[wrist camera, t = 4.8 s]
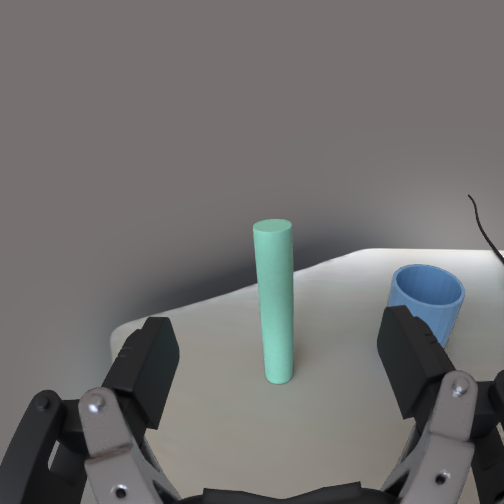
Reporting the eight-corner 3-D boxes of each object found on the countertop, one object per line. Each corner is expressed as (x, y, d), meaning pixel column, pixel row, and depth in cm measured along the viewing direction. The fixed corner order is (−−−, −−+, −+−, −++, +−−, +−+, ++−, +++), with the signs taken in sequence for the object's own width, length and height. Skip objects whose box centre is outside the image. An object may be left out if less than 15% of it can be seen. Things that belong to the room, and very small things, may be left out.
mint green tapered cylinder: (281, 360, 28) (275, 216, 22) (298, 375, 26) (300, 224, 19) (260, 372, 27) (245, 225, 20) (276, 388, 25) (268, 235, 18)
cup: (399, 319, 31) (413, 257, 28) (448, 345, 25) (472, 282, 21) (363, 351, 28) (377, 284, 24) (419, 386, 21) (449, 319, 18)
